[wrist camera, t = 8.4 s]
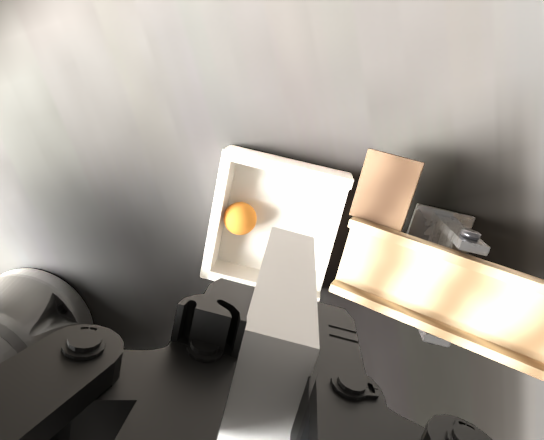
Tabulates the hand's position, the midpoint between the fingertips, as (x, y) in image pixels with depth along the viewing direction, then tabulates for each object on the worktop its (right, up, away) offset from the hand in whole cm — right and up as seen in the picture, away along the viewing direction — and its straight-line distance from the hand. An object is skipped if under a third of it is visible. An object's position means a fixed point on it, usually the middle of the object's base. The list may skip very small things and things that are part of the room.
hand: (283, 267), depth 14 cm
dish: (0, +2, +30) cm, 30 cm away
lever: (+16, -1, +22) cm, 27 cm away
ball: (-4, +2, +28) cm, 28 cm away
